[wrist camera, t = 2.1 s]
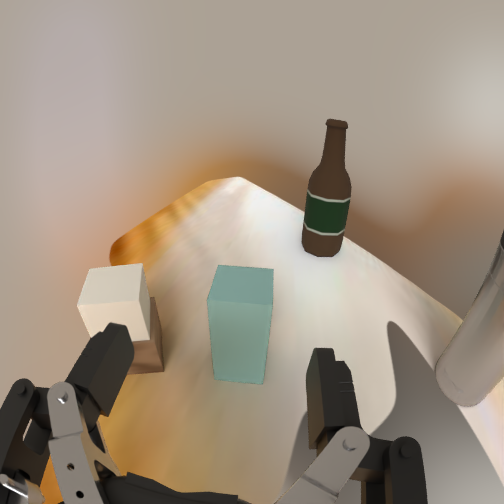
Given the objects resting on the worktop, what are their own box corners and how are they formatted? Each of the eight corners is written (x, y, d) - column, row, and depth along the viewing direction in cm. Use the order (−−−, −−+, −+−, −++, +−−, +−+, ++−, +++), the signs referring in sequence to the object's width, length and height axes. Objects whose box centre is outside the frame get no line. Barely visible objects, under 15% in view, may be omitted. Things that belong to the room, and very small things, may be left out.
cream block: (150, 300, 29) (142, 263, 27) (149, 339, 24) (138, 300, 22) (101, 305, 28) (89, 268, 25) (93, 343, 23) (76, 305, 20)
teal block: (264, 348, 30) (273, 269, 25) (262, 384, 26) (272, 305, 21) (221, 344, 31) (218, 264, 25) (214, 379, 26) (207, 299, 21)
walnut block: (161, 327, 32) (154, 297, 30) (164, 372, 27) (154, 342, 24) (109, 332, 31) (98, 302, 28) (104, 376, 25) (88, 346, 22)
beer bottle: (292, 242, 53) (304, 115, 42) (323, 236, 57) (338, 119, 45) (316, 261, 47) (335, 120, 36) (348, 253, 50) (369, 125, 39)
